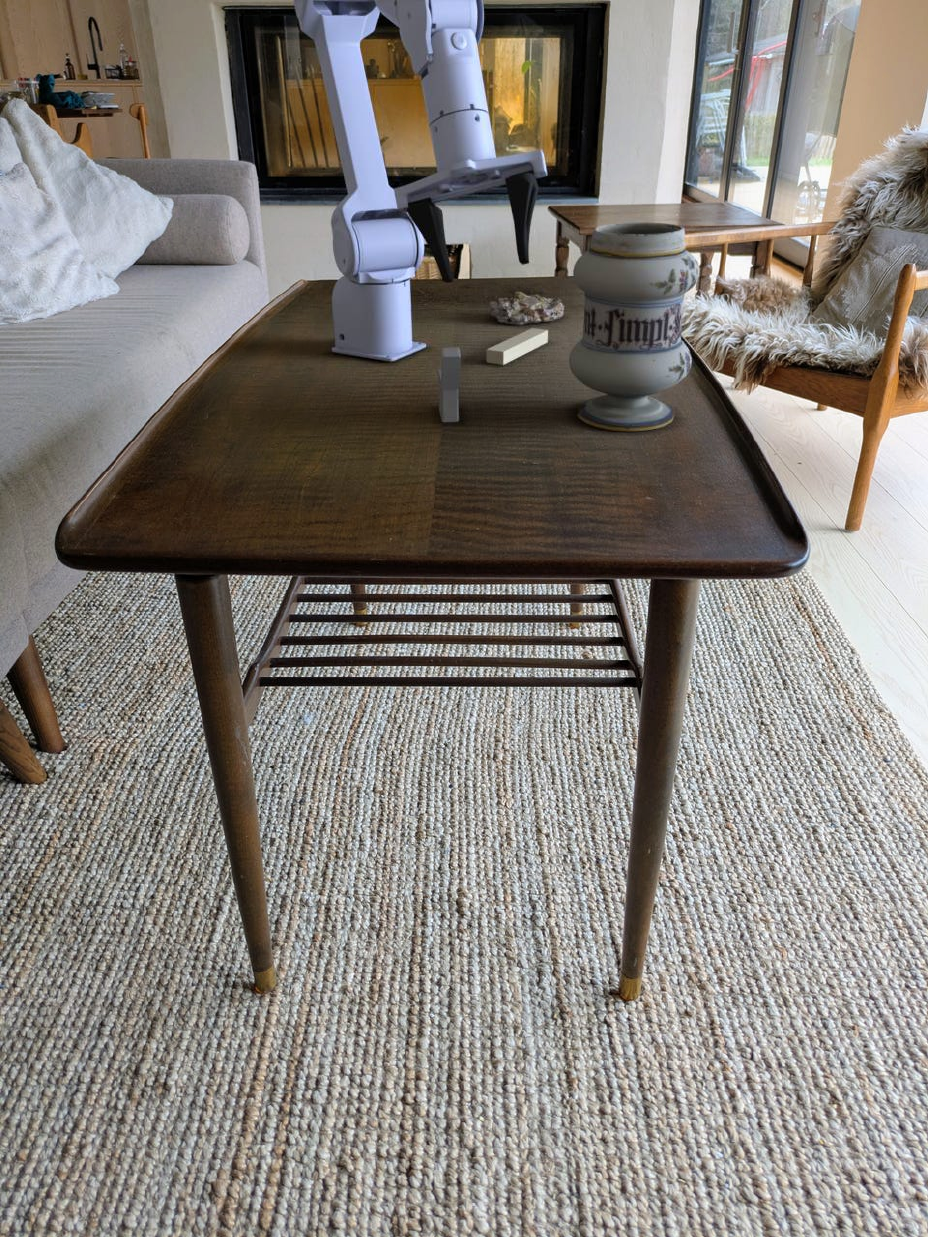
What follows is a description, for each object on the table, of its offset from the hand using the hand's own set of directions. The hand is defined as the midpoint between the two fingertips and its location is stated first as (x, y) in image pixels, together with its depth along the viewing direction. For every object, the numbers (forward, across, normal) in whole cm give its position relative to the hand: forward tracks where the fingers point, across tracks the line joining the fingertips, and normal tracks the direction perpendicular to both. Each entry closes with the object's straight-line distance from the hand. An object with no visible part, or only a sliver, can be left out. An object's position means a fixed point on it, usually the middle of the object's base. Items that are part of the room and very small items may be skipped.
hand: (485, 271), depth 88 cm
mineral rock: (+1, -2, +43) cm, 43 cm away
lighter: (+13, -6, +1) cm, 15 cm away
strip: (+6, -2, +26) cm, 27 cm away
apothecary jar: (+16, +11, +5) cm, 20 cm away
